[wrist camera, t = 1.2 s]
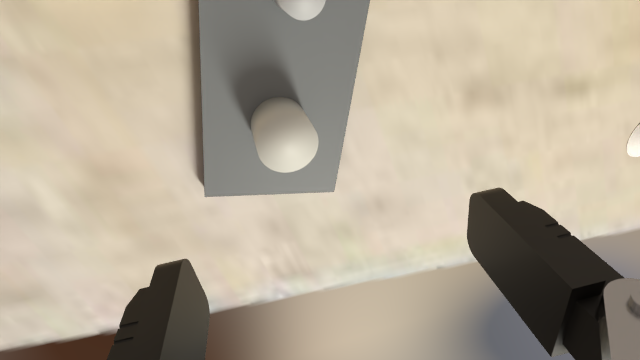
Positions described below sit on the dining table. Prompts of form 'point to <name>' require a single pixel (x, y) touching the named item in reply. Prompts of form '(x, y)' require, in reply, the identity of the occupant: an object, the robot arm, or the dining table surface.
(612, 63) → the dining table surface
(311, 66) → the stub plate
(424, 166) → the dining table surface
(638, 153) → the champagne flute
